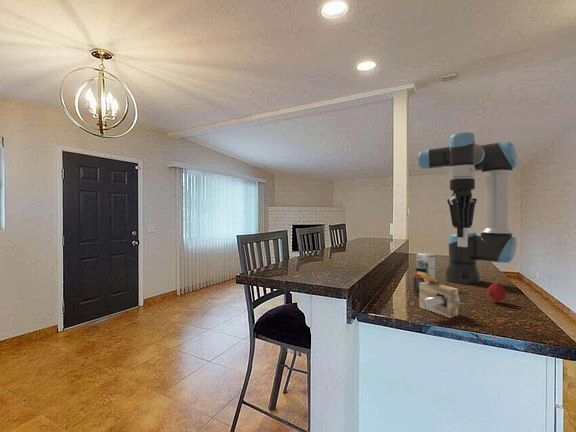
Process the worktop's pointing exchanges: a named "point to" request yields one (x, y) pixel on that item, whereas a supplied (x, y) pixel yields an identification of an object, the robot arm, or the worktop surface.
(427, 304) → the pin
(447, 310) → the block
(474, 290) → the worktop surface
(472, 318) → the worktop surface
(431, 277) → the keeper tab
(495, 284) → the onion
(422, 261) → the syrup box
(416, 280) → the supplement bottle
